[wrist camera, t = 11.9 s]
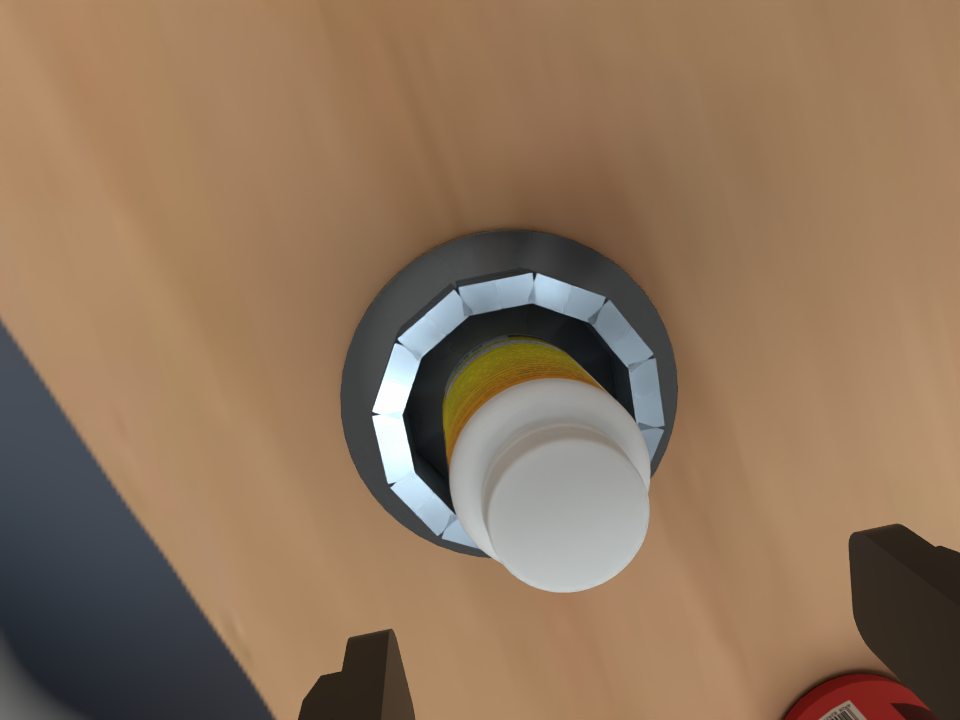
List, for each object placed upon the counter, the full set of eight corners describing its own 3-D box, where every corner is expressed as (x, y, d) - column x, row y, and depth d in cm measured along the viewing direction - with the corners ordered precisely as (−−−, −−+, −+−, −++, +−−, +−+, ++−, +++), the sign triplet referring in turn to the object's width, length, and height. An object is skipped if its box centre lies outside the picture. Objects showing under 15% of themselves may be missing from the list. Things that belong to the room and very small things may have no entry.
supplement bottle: (410, 394, 26) (402, 508, 16) (524, 300, 25) (591, 355, 15) (503, 498, 27) (550, 666, 17) (613, 410, 26) (729, 528, 16)
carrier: (403, 180, 25) (400, 174, 22) (715, 293, 27) (759, 304, 24) (303, 495, 27) (285, 536, 24) (598, 578, 29) (623, 628, 26)
